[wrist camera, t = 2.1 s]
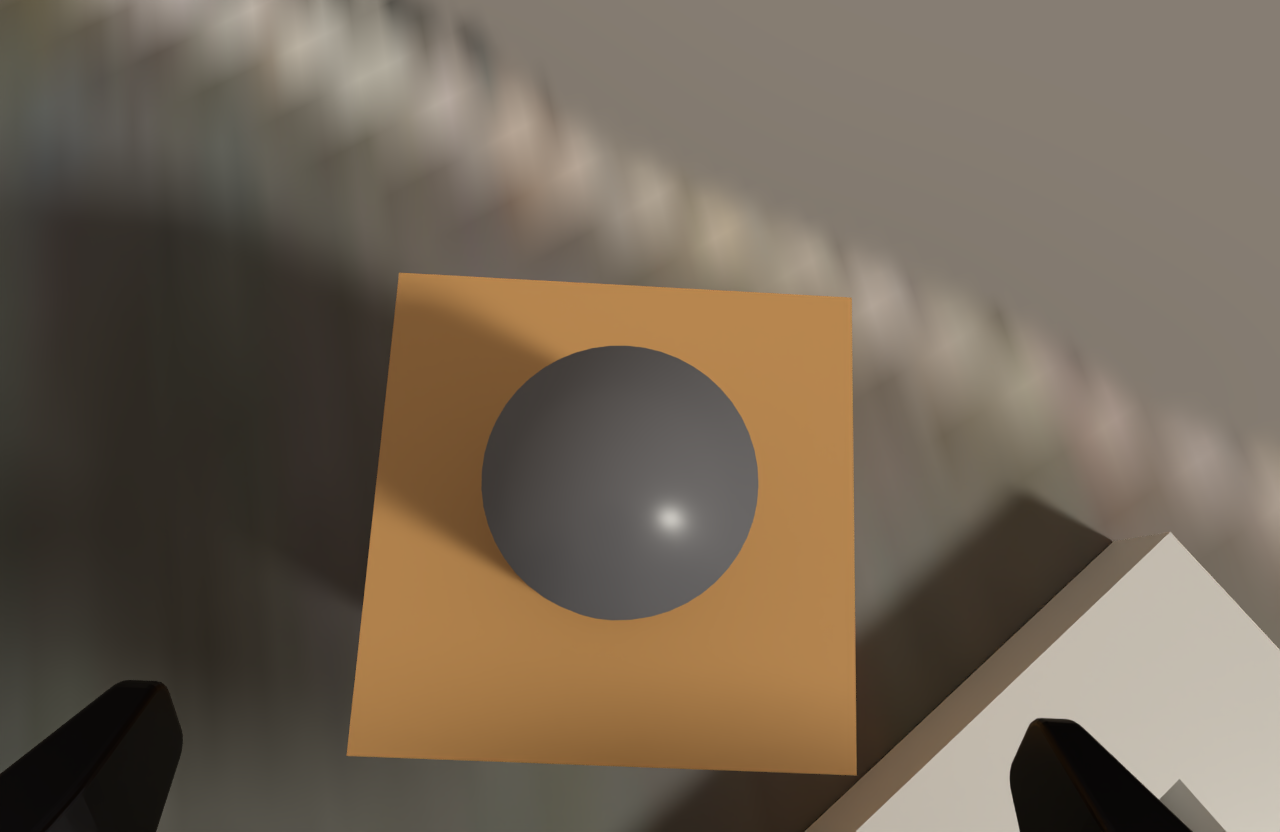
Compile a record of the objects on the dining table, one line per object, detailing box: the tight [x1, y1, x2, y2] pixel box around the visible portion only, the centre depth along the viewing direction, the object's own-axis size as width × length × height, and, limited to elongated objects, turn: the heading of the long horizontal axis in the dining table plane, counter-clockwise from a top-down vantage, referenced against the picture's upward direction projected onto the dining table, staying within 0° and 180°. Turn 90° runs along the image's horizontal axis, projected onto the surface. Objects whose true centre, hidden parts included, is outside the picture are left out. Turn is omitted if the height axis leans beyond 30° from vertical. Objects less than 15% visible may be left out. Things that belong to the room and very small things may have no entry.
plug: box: [347, 273, 857, 775], centre depth 13 cm, size 4×4×13 cm
